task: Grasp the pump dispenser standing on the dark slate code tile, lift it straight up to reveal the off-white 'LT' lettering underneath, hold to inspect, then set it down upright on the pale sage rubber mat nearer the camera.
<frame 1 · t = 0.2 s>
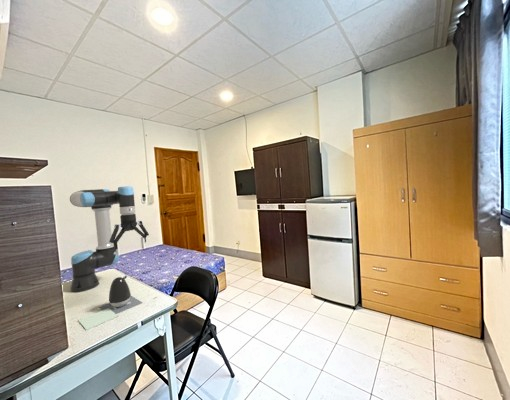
hand: (131, 251, 128), 28 cm above the table, fingers open, 13 cm apart
code tile: (121, 305, 124), on the table
pump dispenser: (120, 305, 124), resting on code tile
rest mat: (98, 318, 111), on the table
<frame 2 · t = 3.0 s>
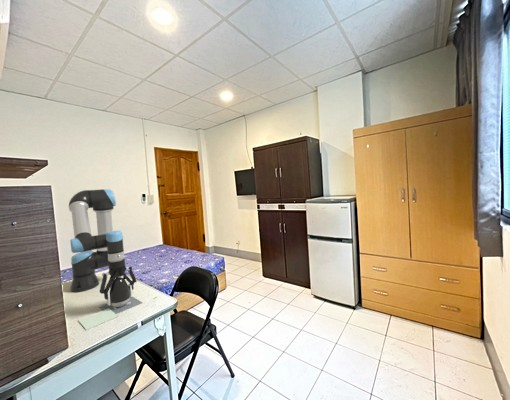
hand: (120, 300, 123), 3 cm above the table, fingers closed on pump dispenser, 10 cm apart
pump dispenser: (120, 305, 124), resting on code tile, touching gripper
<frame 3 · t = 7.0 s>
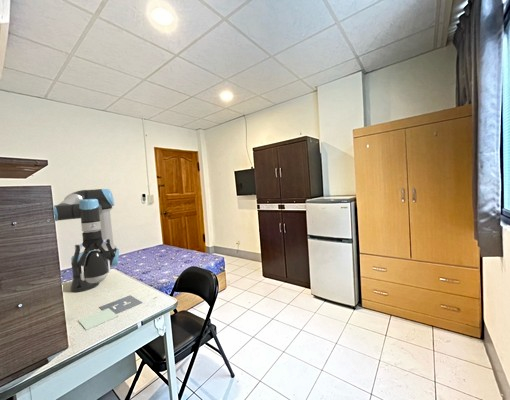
hand: (96, 275, 111), 21 cm above the table, fingers closed on pump dispenser, 10 cm apart
pump dispenser: (97, 281, 111), point 18 cm above the table, touching gripper
when the fingers open (4 cm above the table, at t = 10.8 s): pump dispenser drops 1 cm, resting on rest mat.
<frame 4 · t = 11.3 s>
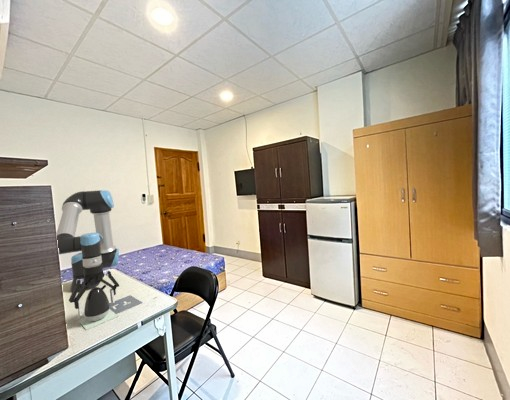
hand: (97, 308, 111), 5 cm above the table, fingers open, 13 cm apart
pump dispenser: (98, 318, 111), resting on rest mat
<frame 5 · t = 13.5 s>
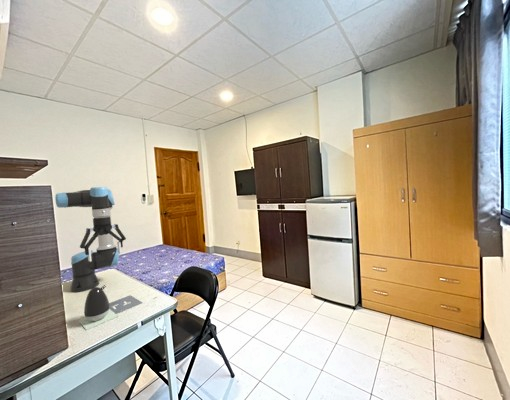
hand: (105, 257, 119), 28 cm above the table, fingers open, 13 cm apart
nothing on the table moved.
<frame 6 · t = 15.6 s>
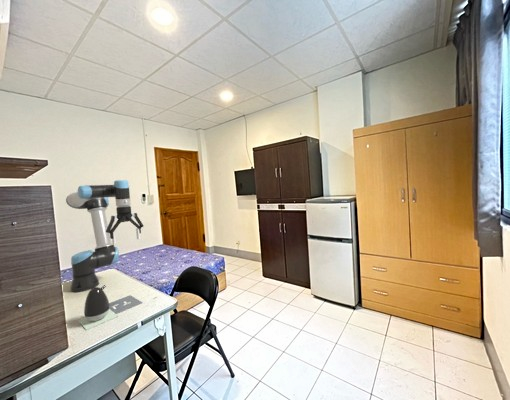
hand: (126, 241, 137), 32 cm above the table, fingers open, 13 cm apart
nothing on the table moved.
at the end: pump dispenser inside the target area on the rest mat (0.0 cm from its centre), point 0.2 cm above the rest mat's base; pump dispenser tilted 0°; pump dispenser moved 13.0 cm from its start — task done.
